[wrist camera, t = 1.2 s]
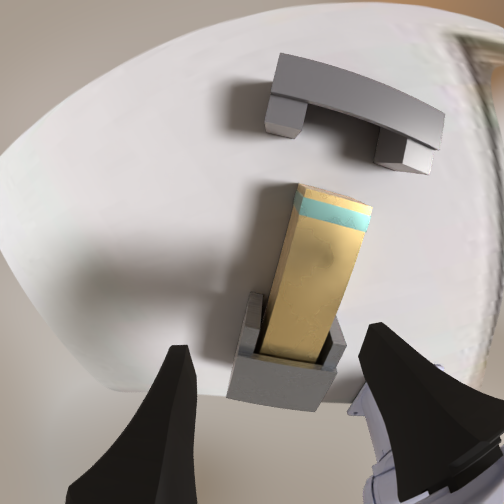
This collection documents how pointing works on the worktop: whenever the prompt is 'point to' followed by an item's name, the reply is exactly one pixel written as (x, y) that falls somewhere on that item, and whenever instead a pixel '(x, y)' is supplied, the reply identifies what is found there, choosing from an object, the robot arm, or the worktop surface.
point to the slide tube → (311, 273)
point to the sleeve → (281, 368)
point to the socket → (356, 110)
